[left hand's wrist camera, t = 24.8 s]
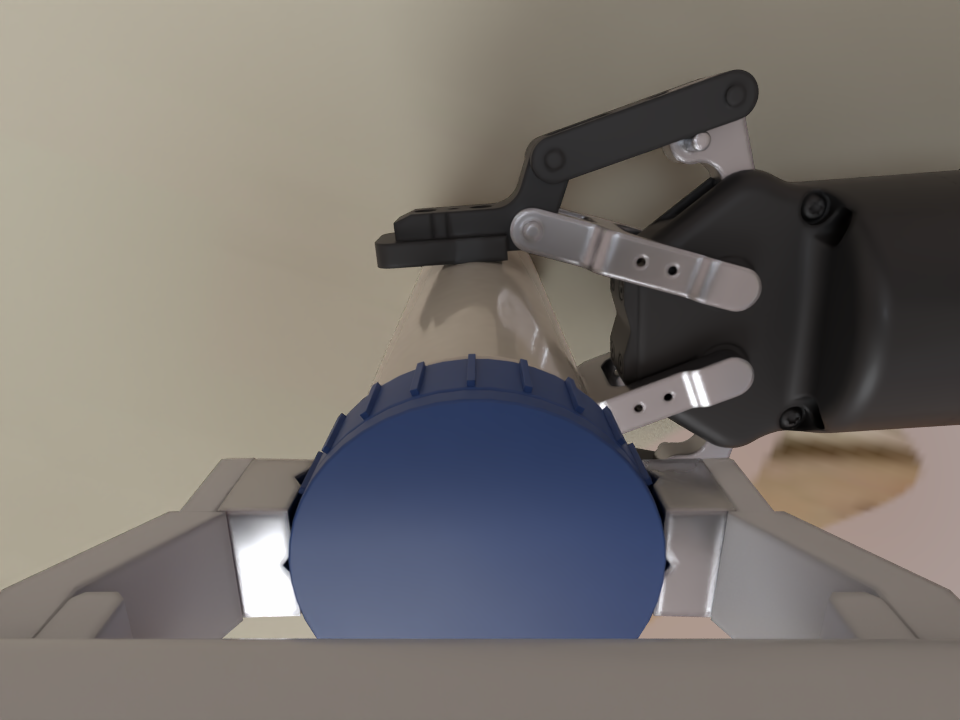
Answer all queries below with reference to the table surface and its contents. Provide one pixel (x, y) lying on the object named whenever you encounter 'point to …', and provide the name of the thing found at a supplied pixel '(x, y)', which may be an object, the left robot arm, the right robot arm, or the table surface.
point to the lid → (477, 513)
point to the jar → (479, 320)
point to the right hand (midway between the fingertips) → (393, 337)
